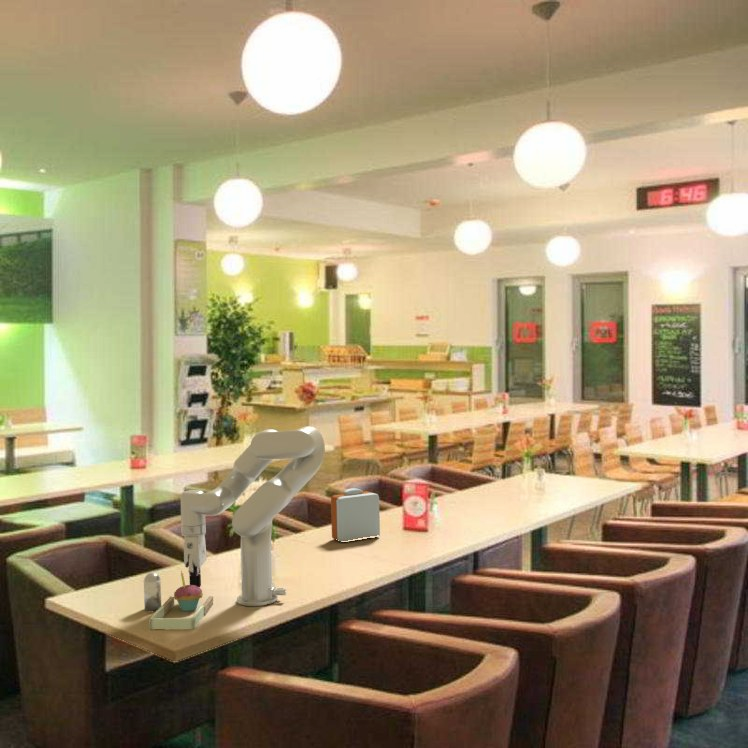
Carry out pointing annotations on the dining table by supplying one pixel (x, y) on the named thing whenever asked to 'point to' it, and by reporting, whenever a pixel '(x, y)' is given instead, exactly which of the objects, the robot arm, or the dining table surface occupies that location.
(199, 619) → the tray
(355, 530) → the grey suitcase
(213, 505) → the robot arm
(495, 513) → the dining table surface
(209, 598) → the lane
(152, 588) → the glass dome
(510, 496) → the dining table surface
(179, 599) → the cupcake
